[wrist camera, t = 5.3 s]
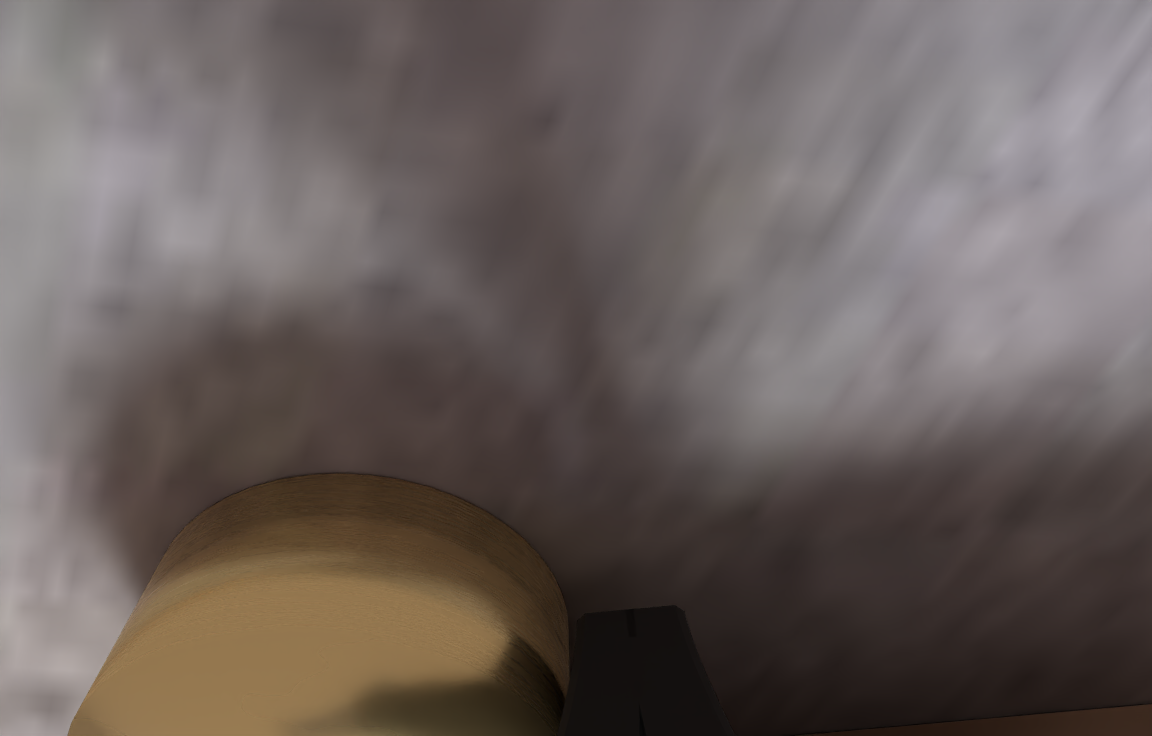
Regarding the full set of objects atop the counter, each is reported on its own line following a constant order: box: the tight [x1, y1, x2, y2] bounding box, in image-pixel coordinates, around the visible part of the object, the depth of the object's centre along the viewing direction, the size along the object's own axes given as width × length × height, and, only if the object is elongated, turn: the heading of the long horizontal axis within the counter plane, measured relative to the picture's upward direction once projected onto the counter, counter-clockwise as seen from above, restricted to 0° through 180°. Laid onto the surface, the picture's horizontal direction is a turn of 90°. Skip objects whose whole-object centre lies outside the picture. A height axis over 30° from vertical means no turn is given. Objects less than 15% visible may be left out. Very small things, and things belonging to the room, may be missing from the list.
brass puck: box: [67, 474, 569, 736], centre depth 11 cm, size 6×6×2 cm
